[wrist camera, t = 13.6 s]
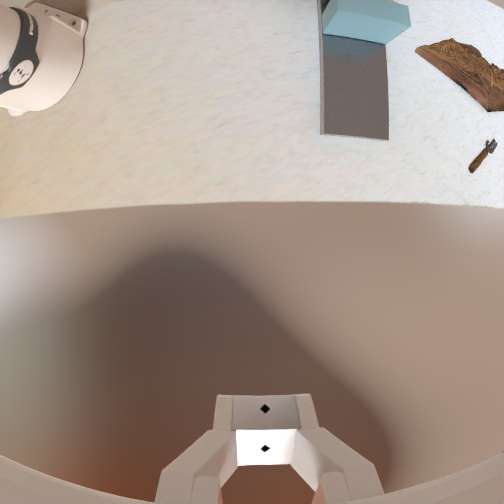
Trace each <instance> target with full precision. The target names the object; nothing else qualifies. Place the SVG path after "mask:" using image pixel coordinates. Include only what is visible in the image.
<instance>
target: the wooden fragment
mask: <svg viewBox="0 0 504 504" xmlns="http://www.w3.org/2000/svg"><path fill="white" fill-rule="evenodd" d="M415 53H417V54H418V55H420V56H421V57H422V58H424V59H426V60H427V61H428V62H430V63H431V64H432V65H434V66H435V67H436V68H438V69H439V70H440V71H442V72H443V73H444V74H445V75H447V76H448V77H449V78H450V79H452V80H453V81H454V82H456V83H457V84H458V85H460V86H461V87H462V88H463V89H464V90H465V91H467V93H469V94H470V95H471V96H472V97H473V98H474V99H475V100H476V101H478V103H480V104H481V105H482V106H483V107H484V108H485V109H486V111H487V112H492V111H493V112H494V111H504V70H500V69H499V67H496V66H495V65H494V64H493V63H492V65H490V64H489V63H488V62H487V61H486V60H485V59H483V58H482V55H481V53H480V52H479V51H478V50H477V49H476V48H474V47H473V46H468V45H465V44H461V43H457V42H456V41H455V40H454V39H450V40H446V41H441V42H440V43H435V44H432V45H429V46H420V47H419V48H416V50H415Z"/></svg>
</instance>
